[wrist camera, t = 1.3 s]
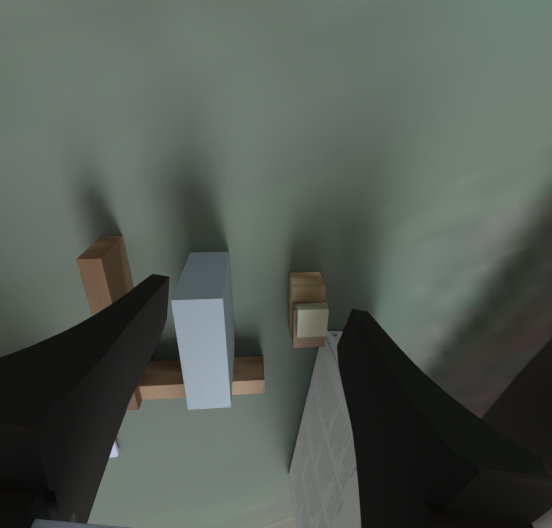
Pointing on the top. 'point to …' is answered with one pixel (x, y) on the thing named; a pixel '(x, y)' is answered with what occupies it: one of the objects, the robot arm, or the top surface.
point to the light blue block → (205, 329)
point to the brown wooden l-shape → (158, 374)
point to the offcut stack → (307, 310)
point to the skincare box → (325, 451)
